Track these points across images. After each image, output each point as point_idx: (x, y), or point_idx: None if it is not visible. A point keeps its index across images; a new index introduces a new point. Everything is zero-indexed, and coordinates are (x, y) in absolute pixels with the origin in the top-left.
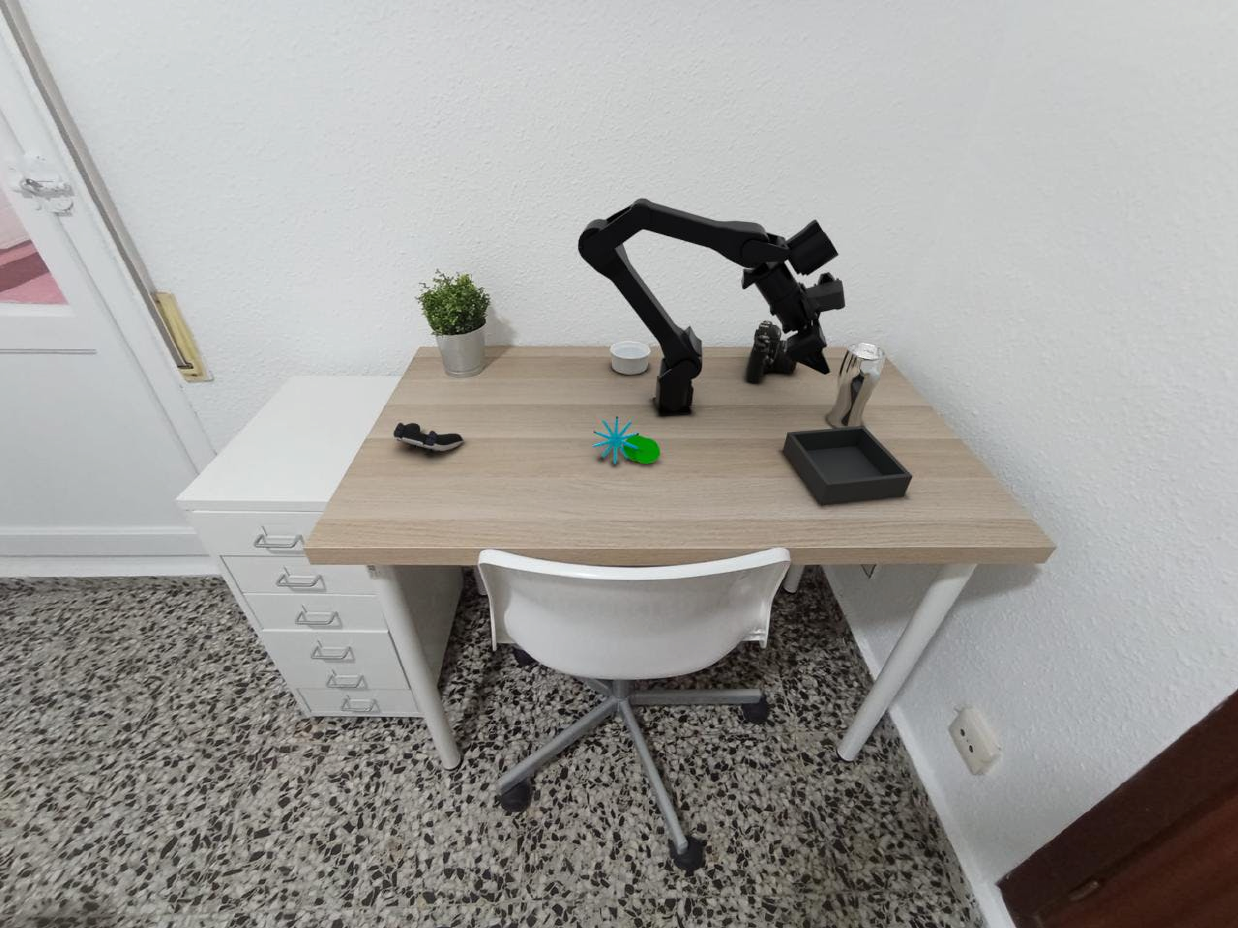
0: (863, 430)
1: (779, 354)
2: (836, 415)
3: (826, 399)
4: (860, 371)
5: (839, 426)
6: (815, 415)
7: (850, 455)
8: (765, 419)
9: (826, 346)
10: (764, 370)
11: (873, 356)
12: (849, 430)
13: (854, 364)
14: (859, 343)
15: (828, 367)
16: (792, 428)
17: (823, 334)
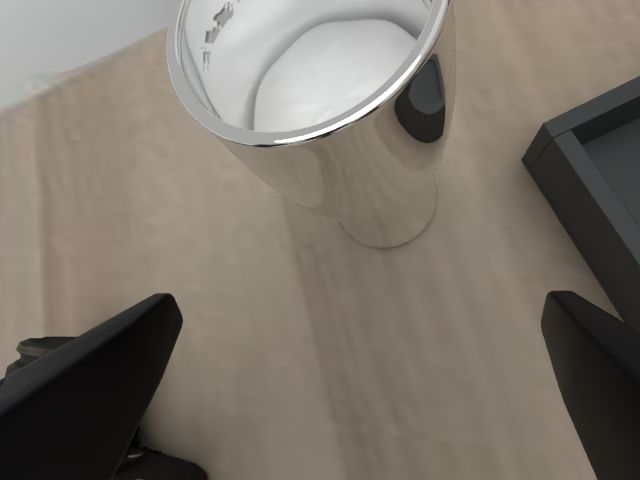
0: (583, 124)
1: None
2: (413, 222)
3: (259, 247)
4: (454, 76)
5: (433, 212)
6: (366, 285)
7: (623, 179)
8: (448, 474)
9: (171, 296)
10: (144, 456)
11: (241, 17)
12: (602, 176)
13: (432, 104)
14: (178, 64)
15: (621, 322)
16: (482, 373)
17: (77, 342)
